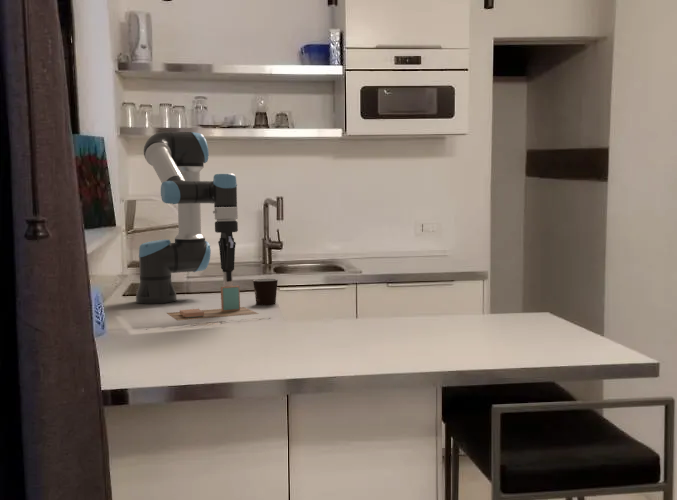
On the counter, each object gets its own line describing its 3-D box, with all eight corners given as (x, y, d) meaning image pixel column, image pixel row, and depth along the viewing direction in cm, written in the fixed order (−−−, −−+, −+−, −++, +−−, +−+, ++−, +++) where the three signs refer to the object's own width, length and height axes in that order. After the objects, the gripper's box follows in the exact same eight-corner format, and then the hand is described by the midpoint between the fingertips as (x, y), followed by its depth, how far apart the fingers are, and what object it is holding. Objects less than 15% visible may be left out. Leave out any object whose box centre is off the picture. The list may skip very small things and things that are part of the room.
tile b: (221, 310, 235) (220, 286, 234) (239, 309, 237) (238, 285, 237) (222, 311, 233) (221, 287, 233) (240, 310, 236) (239, 286, 235)
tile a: (179, 310, 228) (185, 313, 220) (198, 308, 230) (204, 311, 223) (179, 314, 228) (185, 318, 221) (198, 313, 230) (204, 316, 223)
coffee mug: (274, 310, 245) (273, 281, 244) (250, 309, 246) (249, 281, 246) (283, 305, 256) (282, 277, 255) (260, 305, 258) (260, 277, 257)
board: (166, 317, 232) (166, 312, 232) (243, 311, 243) (243, 306, 243) (177, 325, 217) (177, 320, 217) (258, 318, 228) (258, 313, 227)
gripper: (210, 220, 240) (212, 289, 242) (220, 220, 229) (222, 293, 230) (231, 220, 243) (233, 288, 245) (242, 220, 232) (244, 292, 233)
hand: (228, 291), depth 237 cm, fingers closed
